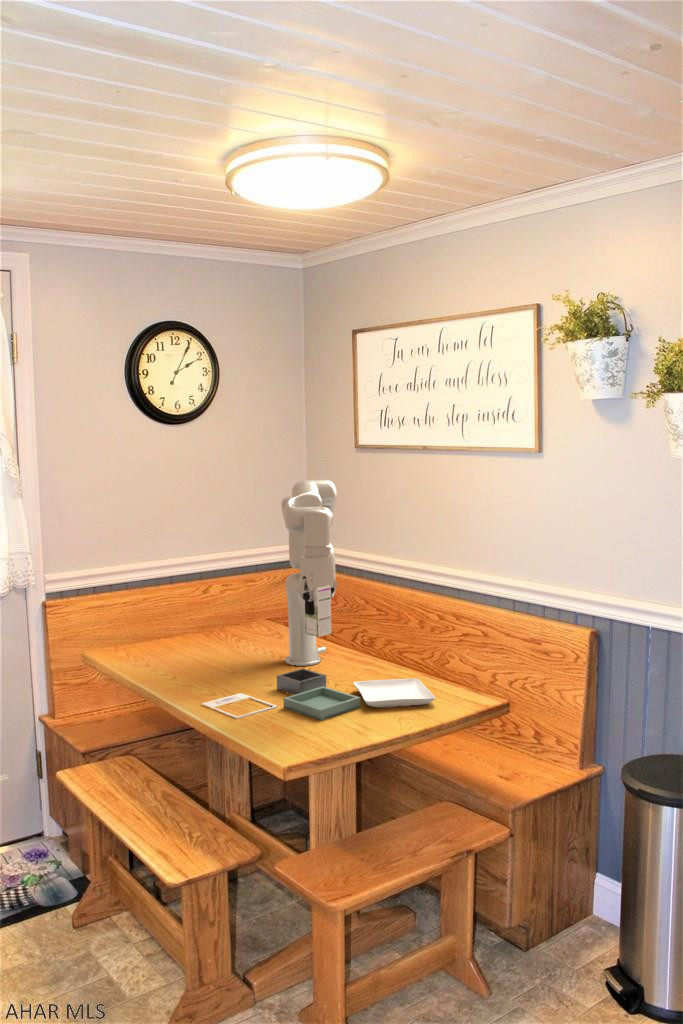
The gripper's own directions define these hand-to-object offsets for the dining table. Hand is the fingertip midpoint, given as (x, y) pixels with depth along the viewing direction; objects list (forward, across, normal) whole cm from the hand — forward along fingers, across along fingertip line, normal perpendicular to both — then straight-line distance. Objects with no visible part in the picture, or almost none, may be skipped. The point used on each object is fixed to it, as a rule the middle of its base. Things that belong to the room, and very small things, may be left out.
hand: (317, 612), depth 251 cm
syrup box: (+7, 0, 0) cm, 7 cm away
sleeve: (+28, -7, -16) cm, 33 cm away
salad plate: (+29, -20, +11) cm, 37 cm away
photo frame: (+29, +17, -17) cm, 37 cm away
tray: (+28, +1, +2) cm, 28 cm away
